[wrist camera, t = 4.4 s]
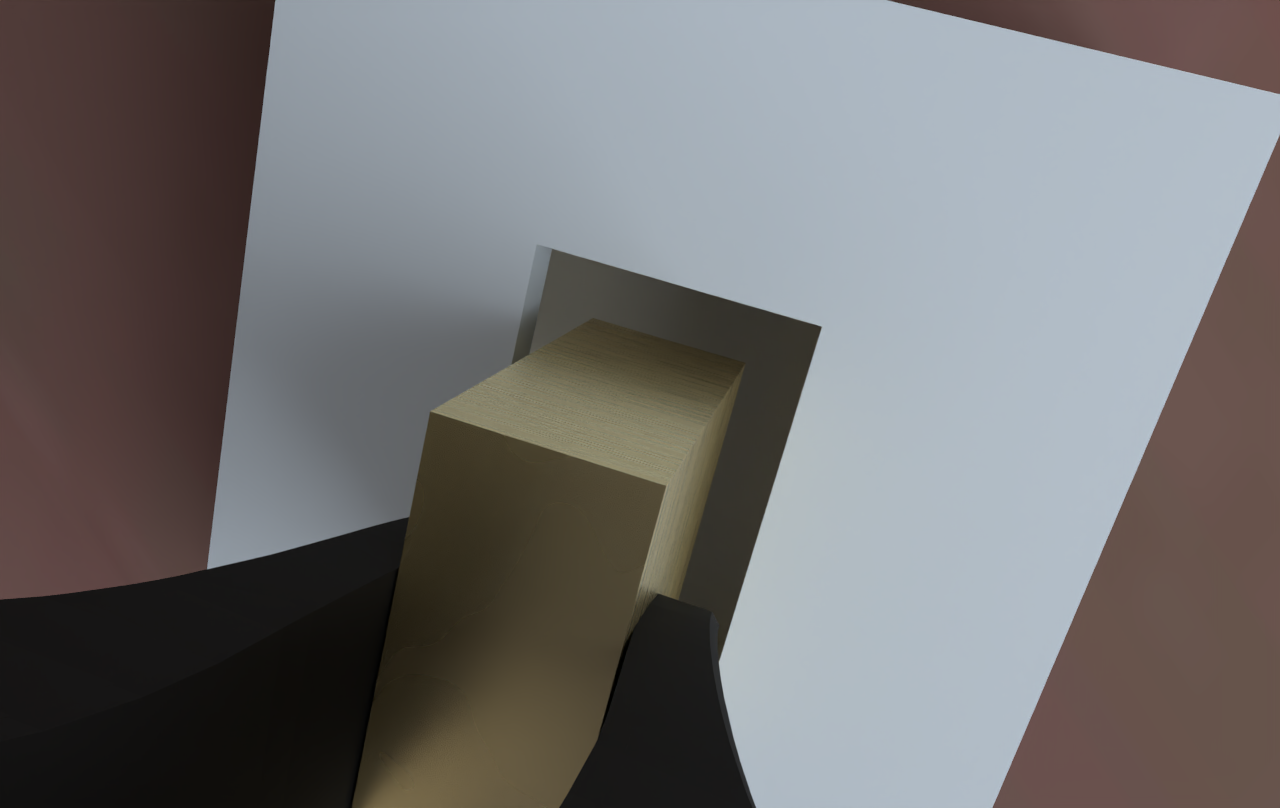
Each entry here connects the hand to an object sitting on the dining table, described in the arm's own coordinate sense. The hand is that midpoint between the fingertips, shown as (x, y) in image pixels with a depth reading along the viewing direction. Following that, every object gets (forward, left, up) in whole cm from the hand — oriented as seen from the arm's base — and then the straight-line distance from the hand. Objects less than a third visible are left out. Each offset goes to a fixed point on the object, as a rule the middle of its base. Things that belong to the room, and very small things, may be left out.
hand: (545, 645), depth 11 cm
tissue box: (0, 0, -10) cm, 10 cm away
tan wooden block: (0, 0, -3) cm, 3 cm away
